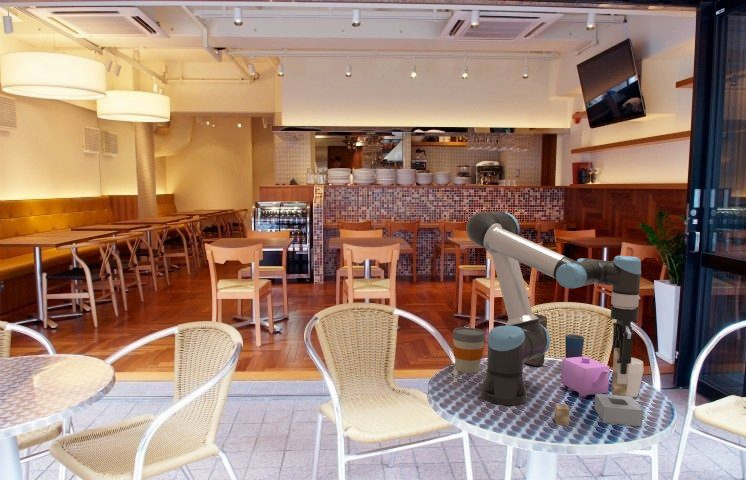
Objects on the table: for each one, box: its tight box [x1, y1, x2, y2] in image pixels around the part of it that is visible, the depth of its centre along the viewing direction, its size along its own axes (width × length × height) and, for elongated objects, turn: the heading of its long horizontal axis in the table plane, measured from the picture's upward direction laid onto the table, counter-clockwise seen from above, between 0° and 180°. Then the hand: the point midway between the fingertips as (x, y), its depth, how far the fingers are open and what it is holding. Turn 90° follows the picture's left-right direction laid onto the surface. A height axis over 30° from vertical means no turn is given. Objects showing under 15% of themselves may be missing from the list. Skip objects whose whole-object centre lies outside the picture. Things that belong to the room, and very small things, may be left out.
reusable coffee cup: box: [451, 326, 486, 374], centre depth 210 cm, size 13×13×15 cm
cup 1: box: [564, 333, 585, 358], centre depth 207 cm, size 7×7×15 cm
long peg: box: [610, 348, 629, 396], centre depth 167 cm, size 4×4×14 cm
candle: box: [524, 313, 548, 367], centre depth 217 cm, size 8×7×20 cm
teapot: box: [560, 355, 611, 399], centre depth 187 cm, size 20×10×12 cm, turn 19°
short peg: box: [554, 403, 571, 426], centre depth 163 cm, size 4×4×5 cm
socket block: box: [594, 393, 644, 427], centre depth 168 cm, size 11×11×5 cm
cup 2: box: [627, 357, 644, 398], centre depth 187 cm, size 9×9×12 cm
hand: (619, 380), depth 167 cm, fingers closed on long peg, 3 cm apart
